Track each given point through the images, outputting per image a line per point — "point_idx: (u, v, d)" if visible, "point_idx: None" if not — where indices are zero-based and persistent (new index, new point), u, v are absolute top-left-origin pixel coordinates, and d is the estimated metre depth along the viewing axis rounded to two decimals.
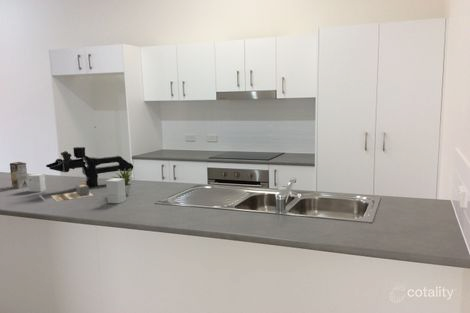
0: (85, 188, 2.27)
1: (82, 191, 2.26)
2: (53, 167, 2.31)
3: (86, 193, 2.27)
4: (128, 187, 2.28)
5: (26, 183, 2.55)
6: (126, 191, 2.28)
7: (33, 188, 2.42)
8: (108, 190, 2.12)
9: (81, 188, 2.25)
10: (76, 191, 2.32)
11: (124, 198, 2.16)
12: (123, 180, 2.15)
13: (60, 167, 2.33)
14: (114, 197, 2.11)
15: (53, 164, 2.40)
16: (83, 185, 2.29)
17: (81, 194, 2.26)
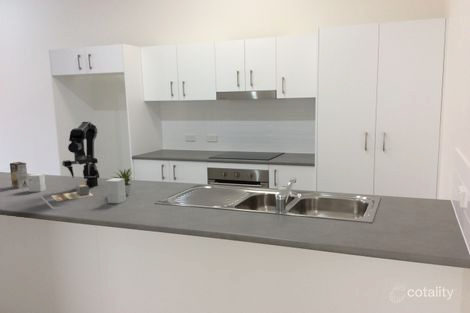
0: (85, 188, 2.27)
1: (82, 191, 2.26)
2: None
3: (86, 193, 2.27)
4: (128, 187, 2.28)
5: (26, 183, 2.55)
6: (126, 191, 2.28)
7: (33, 188, 2.42)
8: (108, 190, 2.12)
9: (81, 188, 2.25)
10: (76, 191, 2.32)
11: (124, 198, 2.16)
12: (123, 180, 2.15)
13: None
14: (114, 197, 2.11)
15: None
16: (83, 185, 2.29)
17: (81, 194, 2.26)
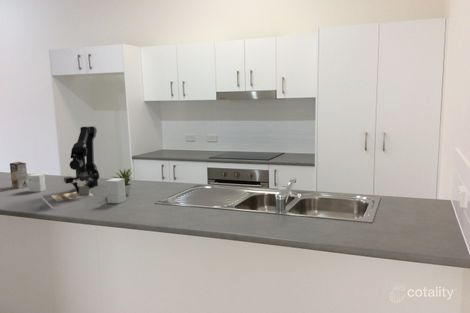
0: (85, 188, 2.27)
1: (82, 191, 2.26)
2: None
3: (86, 193, 2.27)
4: (128, 187, 2.28)
5: (26, 183, 2.55)
6: (126, 191, 2.28)
7: (33, 188, 2.42)
8: (108, 190, 2.12)
9: (81, 188, 2.25)
10: (76, 191, 2.32)
11: (124, 198, 2.16)
12: (123, 180, 2.15)
13: None
14: (114, 197, 2.11)
15: None
16: (83, 185, 2.29)
17: (81, 194, 2.26)
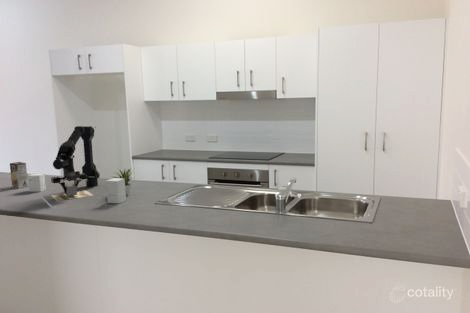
0: (73, 188, 2.22)
1: (70, 191, 2.22)
2: None
3: (74, 193, 2.23)
4: (128, 187, 2.28)
5: (26, 183, 2.55)
6: (126, 191, 2.28)
7: (33, 188, 2.42)
8: (108, 190, 2.12)
9: (69, 188, 2.21)
10: None
11: (124, 198, 2.16)
12: (123, 180, 2.15)
13: None
14: (114, 197, 2.11)
15: (64, 186, 2.23)
16: (71, 185, 2.25)
17: (69, 194, 2.21)
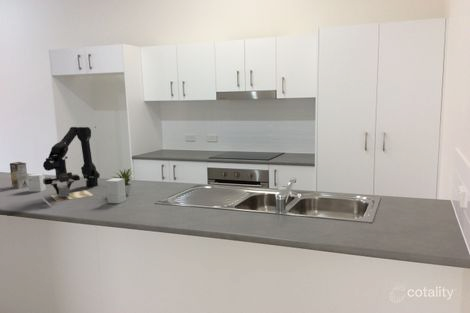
0: (65, 189, 2.20)
1: (62, 192, 2.19)
2: None
3: (66, 194, 2.21)
4: (128, 187, 2.28)
5: (26, 183, 2.55)
6: (126, 191, 2.28)
7: (33, 188, 2.42)
8: (108, 190, 2.12)
9: (61, 189, 2.19)
10: None
11: (124, 198, 2.16)
12: (123, 180, 2.15)
13: None
14: (114, 197, 2.11)
15: None
16: (63, 186, 2.23)
17: (61, 196, 2.19)
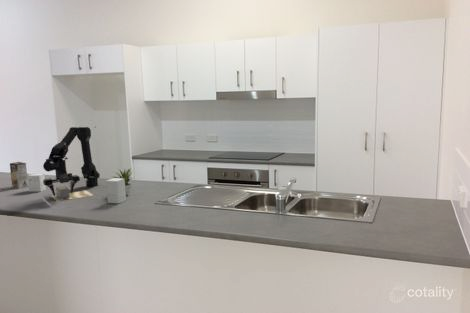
0: (65, 191, 2.20)
1: (62, 194, 2.19)
2: None
3: (66, 196, 2.21)
4: (128, 187, 2.28)
5: (26, 183, 2.55)
6: (126, 191, 2.28)
7: (33, 188, 2.42)
8: (108, 190, 2.12)
9: (61, 191, 2.19)
10: None
11: (124, 198, 2.16)
12: (123, 180, 2.15)
13: None
14: (114, 197, 2.11)
15: (53, 189, 2.20)
16: (63, 188, 2.23)
17: (61, 197, 2.19)
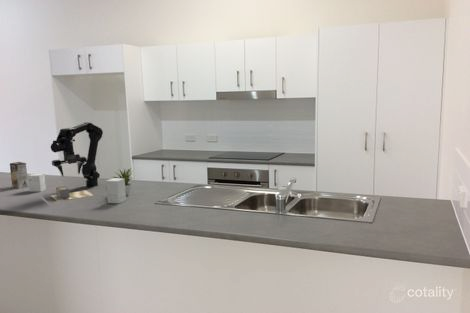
0: (65, 191, 2.20)
1: (62, 194, 2.19)
2: None
3: (66, 196, 2.21)
4: (128, 187, 2.28)
5: (26, 183, 2.55)
6: (126, 191, 2.28)
7: (33, 188, 2.42)
8: (108, 190, 2.12)
9: (61, 191, 2.19)
10: None
11: (124, 198, 2.16)
12: (123, 180, 2.15)
13: None
14: (114, 197, 2.11)
15: None
16: (63, 188, 2.23)
17: (61, 197, 2.19)
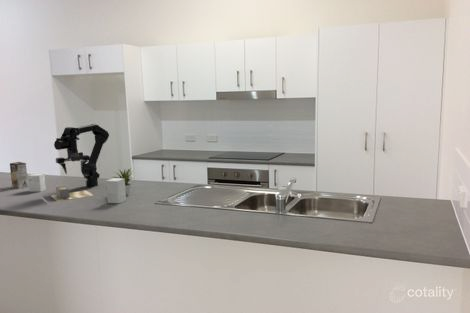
0: (65, 191, 2.20)
1: (62, 194, 2.19)
2: None
3: (66, 196, 2.21)
4: (128, 187, 2.28)
5: (26, 183, 2.55)
6: (126, 191, 2.28)
7: (33, 188, 2.42)
8: (108, 190, 2.12)
9: (61, 191, 2.19)
10: None
11: (124, 198, 2.16)
12: (123, 180, 2.15)
13: None
14: (114, 197, 2.11)
15: None
16: (63, 188, 2.23)
17: (61, 197, 2.19)
